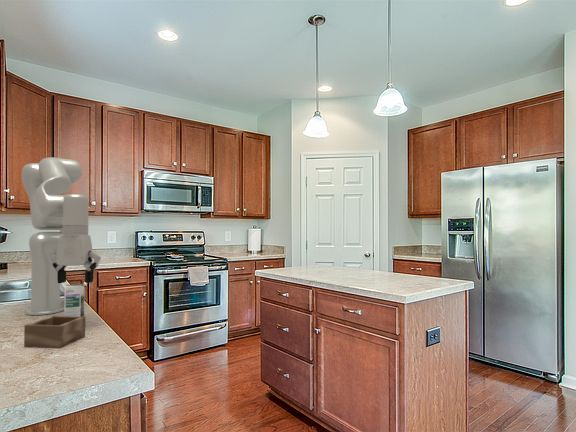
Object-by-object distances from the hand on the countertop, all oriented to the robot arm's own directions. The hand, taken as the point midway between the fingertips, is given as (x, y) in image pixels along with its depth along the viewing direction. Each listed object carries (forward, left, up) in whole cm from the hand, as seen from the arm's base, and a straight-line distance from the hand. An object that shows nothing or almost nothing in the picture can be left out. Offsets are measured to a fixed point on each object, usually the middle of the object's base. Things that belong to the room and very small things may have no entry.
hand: (75, 282), depth 123 cm
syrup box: (0, -1, -15) cm, 15 cm away
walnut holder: (+13, +4, -15) cm, 20 cm away
